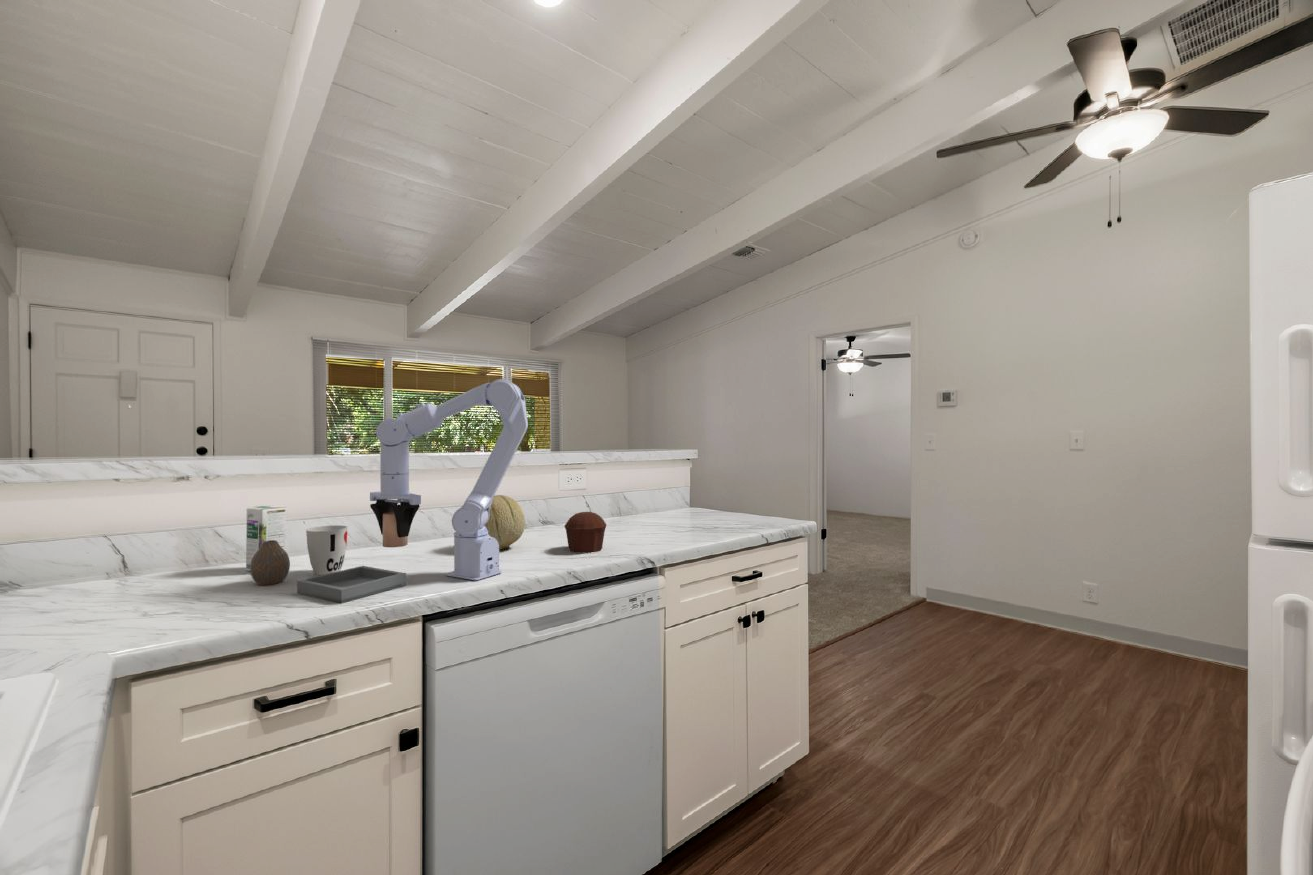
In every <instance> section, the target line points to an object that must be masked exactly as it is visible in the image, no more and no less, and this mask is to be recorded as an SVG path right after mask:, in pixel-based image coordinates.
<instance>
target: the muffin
mask: <svg viewBox="0 0 1313 875" xmlns="http://www.w3.org/2000/svg"><path fill="white" fill-rule="evenodd" d="M564 528H565V532H566V539H567V546H568V551H569V552H572V553H574V552H581V553H580V554H589V553H588V552H594V553H598V552H602V551H601V550H602V549H603V546H604V545H603V544H604V539H605V538H604V537H605V533H606V532H605V531H606V528H607V523H606V521H605V520H604V519H603V517H602V516H600V515H599V514H597V513H596V512H592V511H580V512H577V513H575V514H573V515H572V516H570V517H569V518H568V520H567V521H566V523H565V524H564Z"/></svg>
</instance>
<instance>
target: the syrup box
mask: <svg viewBox="0 0 1313 875" xmlns="http://www.w3.org/2000/svg"><path fill="white" fill-rule="evenodd" d="M286 516H287V507H286V506H273V505H259V506H258V505H256V506H251V507H247V508H246V534H245V536H246V542H245V544H246V545H245V546H246V547H245V555H246V556H245V571H246V572H250V565H251V561H252V558H253V556H254V555H255V553H256V552H257V551H258V550H259V549H260V547H261V546H262V544H263V542H264V541H270V540H276V541H277V542H278V544H279V545H280V546H281V547H282V548H283V549H284V550H285V551H286V548H287V545H286V544H287V542H286V540H287V537H286V536H287V535H286V533H287V531H286V530H287V529H286V526H287V525H286V524H287V523H286V522H287V517H286Z"/></svg>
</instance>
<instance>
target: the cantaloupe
mask: <svg viewBox="0 0 1313 875" xmlns="http://www.w3.org/2000/svg"><path fill="white" fill-rule="evenodd" d="M485 527H486V528H487V530H488V534H489V536H490V537H493V538H495V539H496V540H497V541H498V544H499V550H504V549H505V548H507V547H509V546H511V545H513V544H515V542H517V541H518V540H519V539H520V538H521V537H522V535H523V534H524V530H525V527H526V518H525V514H524V511H523V509H522V507H521V505H520V504H519V503H518V502H517V501H516V500H515V499H514V498H512V497H509V496H507V495H503V494H501V495H500V494H497V495H496V494H495V495H494V497H493V502H492V505H491V507H490V510H489V520H488V522H487V524H486V525H485Z"/></svg>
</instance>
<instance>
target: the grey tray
mask: <svg viewBox="0 0 1313 875" xmlns="http://www.w3.org/2000/svg"><path fill="white" fill-rule="evenodd" d="M405 586H407V573H406V572H401V571H400V572H399V571H396V570H389V569H384V568H377V567H373V566H366V565H361V566H356V567H352V568H346V569H344V570H342V569H341V571H337V572H333V573H329V574H324V575H316V576H312V577H307V578H302V579H298V580H296V590H297V591H296V593H297V594H298V595H303V596H308V597H311V598H317V599H321V600H325V601H329V602H334V603H339V604H344V603H348V602H351V601H355V600H358V599H363V598H365V597H369V596H373V595H376V594H379V593H383V592H384V593H385V592H387V591H392V590H395V589H398V588H402V587H405Z"/></svg>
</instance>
